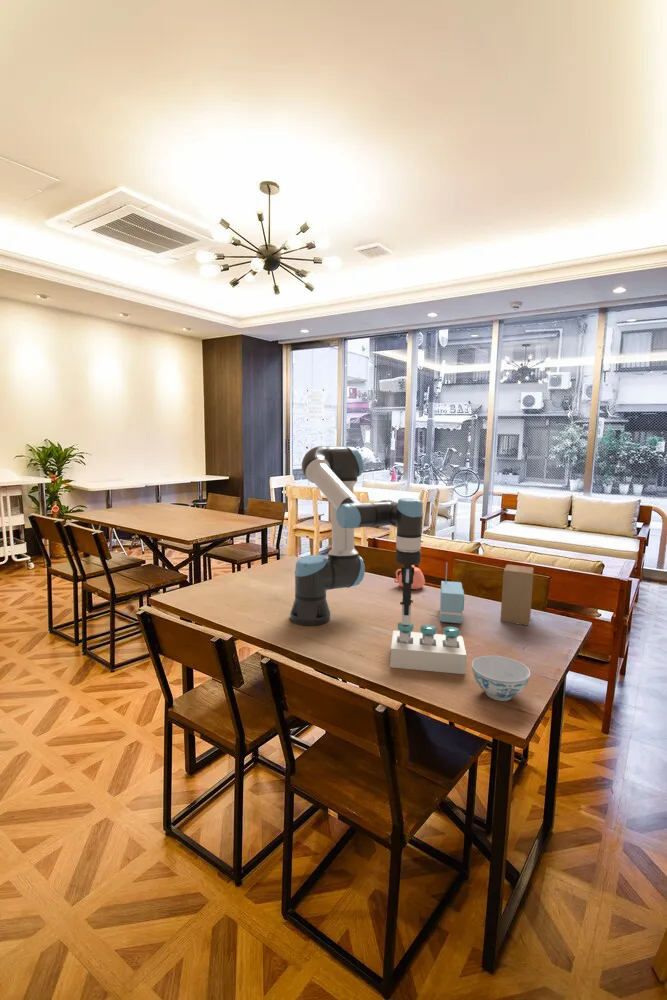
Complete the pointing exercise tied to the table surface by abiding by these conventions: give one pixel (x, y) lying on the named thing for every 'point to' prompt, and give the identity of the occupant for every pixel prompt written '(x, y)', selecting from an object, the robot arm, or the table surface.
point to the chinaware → (500, 676)
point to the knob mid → (428, 634)
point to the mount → (428, 654)
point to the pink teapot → (417, 579)
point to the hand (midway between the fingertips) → (405, 623)
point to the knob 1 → (405, 633)
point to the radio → (451, 601)
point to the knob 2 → (451, 636)
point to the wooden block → (517, 594)
